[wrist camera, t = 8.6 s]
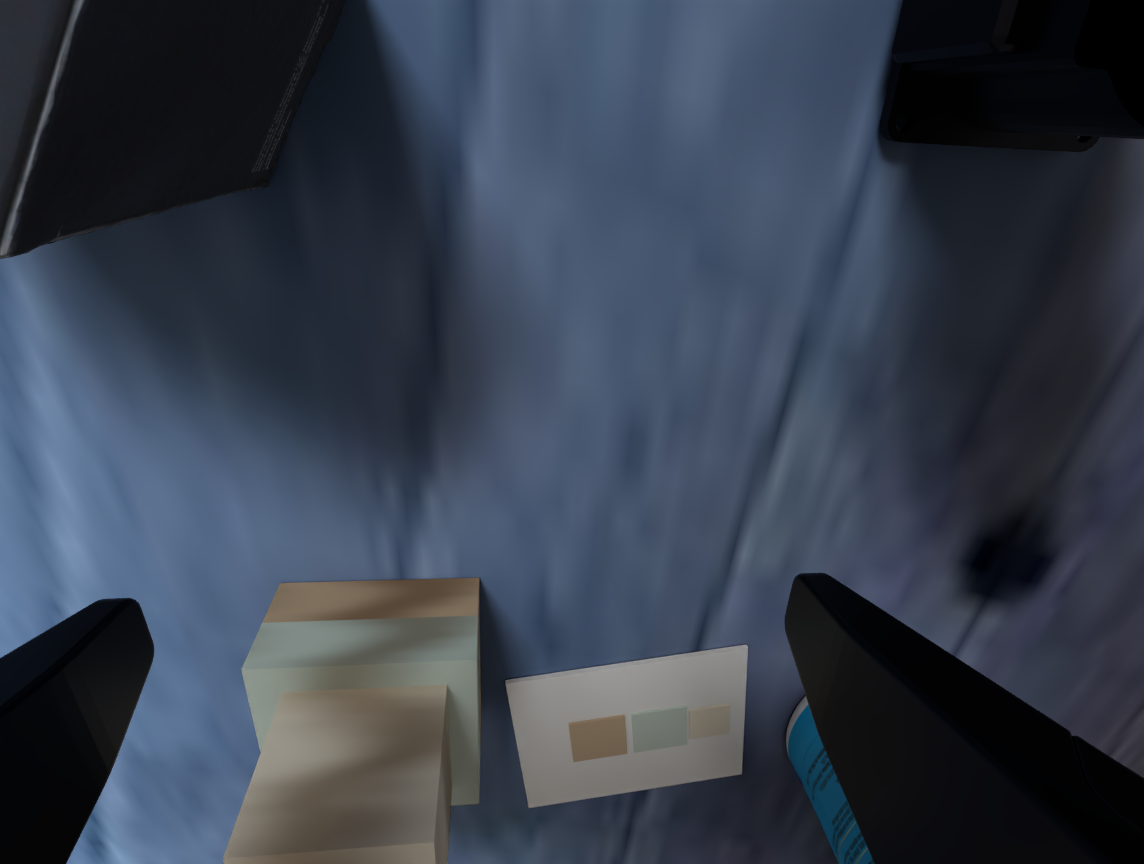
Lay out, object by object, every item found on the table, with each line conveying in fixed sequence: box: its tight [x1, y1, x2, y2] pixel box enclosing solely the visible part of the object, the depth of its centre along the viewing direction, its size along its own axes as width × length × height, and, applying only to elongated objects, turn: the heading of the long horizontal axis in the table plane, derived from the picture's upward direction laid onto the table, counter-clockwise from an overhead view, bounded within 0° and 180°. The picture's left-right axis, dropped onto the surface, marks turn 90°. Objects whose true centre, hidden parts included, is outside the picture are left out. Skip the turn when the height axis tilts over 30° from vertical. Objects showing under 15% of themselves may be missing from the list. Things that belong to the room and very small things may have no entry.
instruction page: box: [505, 645, 748, 808], centre depth 28 cm, size 10×8×1 cm
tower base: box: [241, 578, 481, 806], centre depth 23 cm, size 7×7×4 cm
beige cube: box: [223, 685, 452, 864], centre depth 19 cm, size 5×5×5 cm
